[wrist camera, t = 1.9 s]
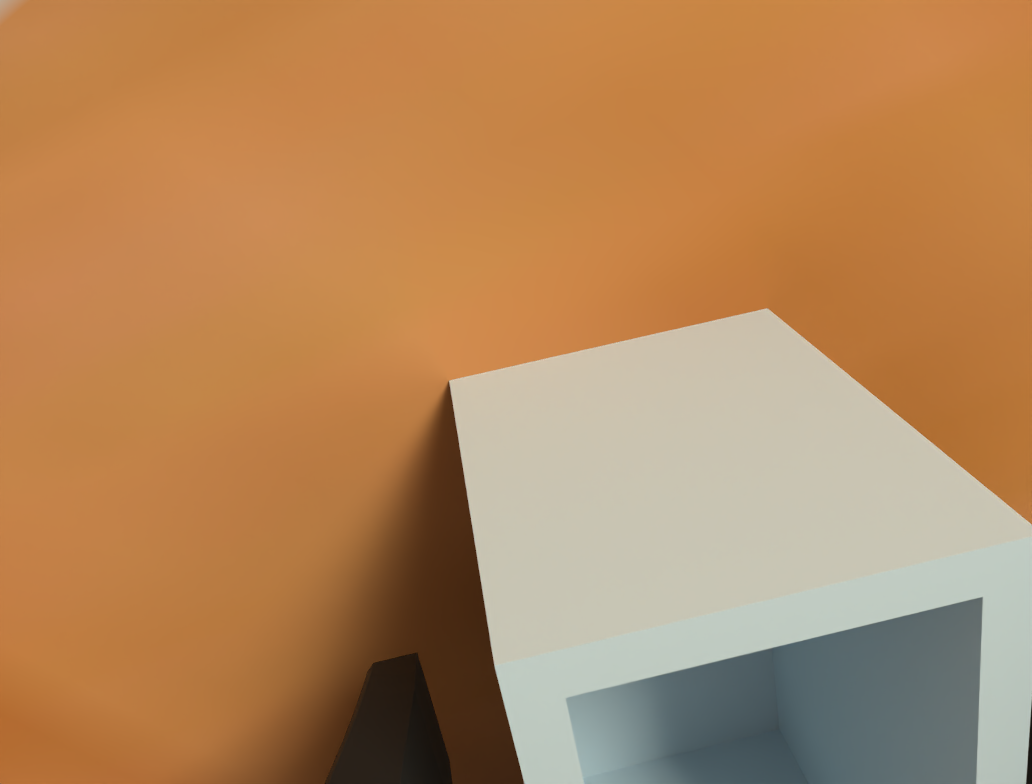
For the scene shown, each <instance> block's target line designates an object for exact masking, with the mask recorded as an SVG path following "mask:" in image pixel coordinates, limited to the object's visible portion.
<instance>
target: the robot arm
mask: <svg viewBox="0 0 1032 784" xmlns="http://www.w3.org/2000/svg"><path fill="white" fill-rule="evenodd" d="M325 784H452V777H451V769H450V762H449V758H448V754H447V751H446V748H445V744H444V741H443V738H442V734H441V731H440V728H439V724H438V721H437V718H436V714H435V711H434V708H433V704H432V701H431V698H430V694H429V691H428V688H427V684H426V681H425V678H424V674H423V671H422V668H421V664H420V661H419V658H418V654H417V653H413V654H409V655H405V656H401V657H397V658H393V659H388V660H384V661H380V662H376V663H373V665H372V666H371V668H370V669H369V670H368V672H367V676H366V679H365V682H364V685H363V688H362V691H361V694H360V697H359V700H358V703H357V706H356V708H355V711H354V714H353V716H352V719H351V722H350V724H349V727H348V729H347V732H346V735H345V737H344V740H343V742H342V745H341V747H340V749H339V752H338V754H337V756H336V759H335V761H334V763H333V766H332V768H331V770H330V773H329V775H328V777H327V780H326V782H325ZM1026 784H1032V703H1031V717H1030V732H1029V747H1028V762H1027V777H1026Z"/></svg>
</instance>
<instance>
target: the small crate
mask: <svg viewBox="0 0 1032 784" xmlns="http://www.w3.org/2000/svg"><path fill="white" fill-rule="evenodd" d="M449 383H450V389H451V396H452V402H453V408H454V415H455V421H456V427H457V434H458V440H459V446H460V452H461V459H462V465H463V471H464V478H465V484H466V490H467V497H468V503H469V509H470V515H471V522H472V528H473V534H474V541H475V547H476V553H477V560H478V566H479V572H480V578H481V585H482V591H483V597H484V604H485V610H486V616H487V623H488V629H489V635H490V641H491V648H492V654H493V660H494V666H495V670H496V674H497V678H498V682H499V686H500V690H501V694H502V698H503V702H504V705H505V709H506V713H507V717H508V721H509V725H510V729H511V733H512V737H513V741H514V745H515V749H516V752H517V756H518V760H519V764H520V768H521V772H522V776H523V780H524V784H1026V777H1027V762H1028V747H1029V732H1030V717H1031V703H1032V525H1031V524H1030V523H1029V522H1028V521H1027V520H1025V519H1024V518H1023V517H1022V516H1020V515H1019V514H1018V513H1017V512H1016V511H1014V510H1013V509H1012V508H1011V507H1009V506H1008V505H1007V504H1006V503H1005V502H1003V501H1002V500H1001V499H1000V498H998V497H997V496H996V495H995V494H994V493H992V492H991V491H990V490H989V489H987V488H986V487H985V486H984V485H983V484H981V483H980V482H979V481H978V480H977V479H975V478H974V477H973V476H972V475H970V474H969V473H968V472H967V471H966V470H964V469H963V468H962V467H961V466H959V465H958V464H957V463H956V462H955V461H953V460H952V459H951V458H950V457H948V456H947V455H946V454H945V453H944V452H942V451H941V450H940V449H939V448H937V447H936V446H935V445H934V444H933V443H931V442H930V441H929V440H928V439H926V438H925V437H924V436H923V435H922V434H920V433H919V432H918V431H917V430H915V429H914V428H913V427H912V426H911V425H909V424H908V423H907V422H906V421H904V420H903V419H902V418H901V417H900V416H898V415H897V414H896V413H895V412H893V411H892V410H891V409H890V408H889V407H887V406H886V405H885V404H884V403H882V402H881V401H880V400H879V399H878V398H876V397H875V396H874V395H873V394H871V393H870V392H869V391H868V390H867V389H865V388H864V387H863V386H862V385H860V384H859V383H858V382H857V381H856V380H854V379H853V378H852V377H851V376H849V375H848V374H847V373H846V372H845V371H843V370H842V369H841V368H840V367H838V366H837V365H836V364H835V363H834V362H832V361H831V360H830V359H829V358H827V357H826V356H825V355H824V354H823V353H821V352H820V351H819V350H818V349H816V348H815V347H814V346H813V345H812V344H810V343H809V342H808V341H807V340H805V339H804V338H803V337H802V336H801V335H799V334H798V333H797V332H796V331H794V330H793V329H792V328H791V327H790V326H788V325H787V324H786V323H785V322H783V321H782V320H781V319H780V318H779V317H777V316H776V315H775V314H774V313H772V312H771V311H770V310H769V309H768V308H767V309H763V310H758V311H754V312H749V313H745V314H741V315H736V316H732V317H727V318H723V319H719V320H714V321H710V322H705V323H701V324H697V325H692V326H688V327H683V328H679V329H674V330H670V331H666V332H661V333H657V334H652V335H648V336H644V337H639V338H635V339H630V340H626V341H622V342H617V343H613V344H608V345H604V346H599V347H595V348H591V349H586V350H582V351H577V352H573V353H569V354H564V355H560V356H555V357H551V358H547V359H542V360H538V361H533V362H529V363H524V364H520V365H516V366H511V367H507V368H502V369H498V370H494V371H489V372H485V373H480V374H476V375H472V376H467V377H463V378H458V379H454V380H449Z"/></svg>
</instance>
